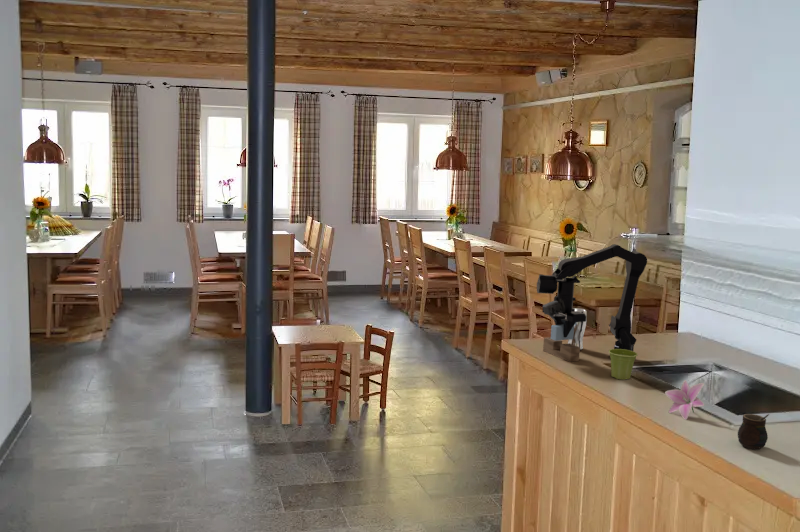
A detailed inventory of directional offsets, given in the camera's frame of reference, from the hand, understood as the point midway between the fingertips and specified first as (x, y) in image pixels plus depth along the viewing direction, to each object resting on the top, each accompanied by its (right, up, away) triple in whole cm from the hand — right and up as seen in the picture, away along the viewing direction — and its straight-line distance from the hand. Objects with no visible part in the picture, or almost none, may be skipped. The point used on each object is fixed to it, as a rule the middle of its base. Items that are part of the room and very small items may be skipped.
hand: (562, 336), depth 296 cm
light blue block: (0, -1, 0) cm, 1 cm away
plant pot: (+15, -12, -24) cm, 31 cm away
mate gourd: (+32, -22, -85) cm, 94 cm away
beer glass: (+8, -6, +14) cm, 17 cm away
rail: (0, -7, +1) cm, 7 cm away
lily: (+23, -18, -61) cm, 68 cm away
